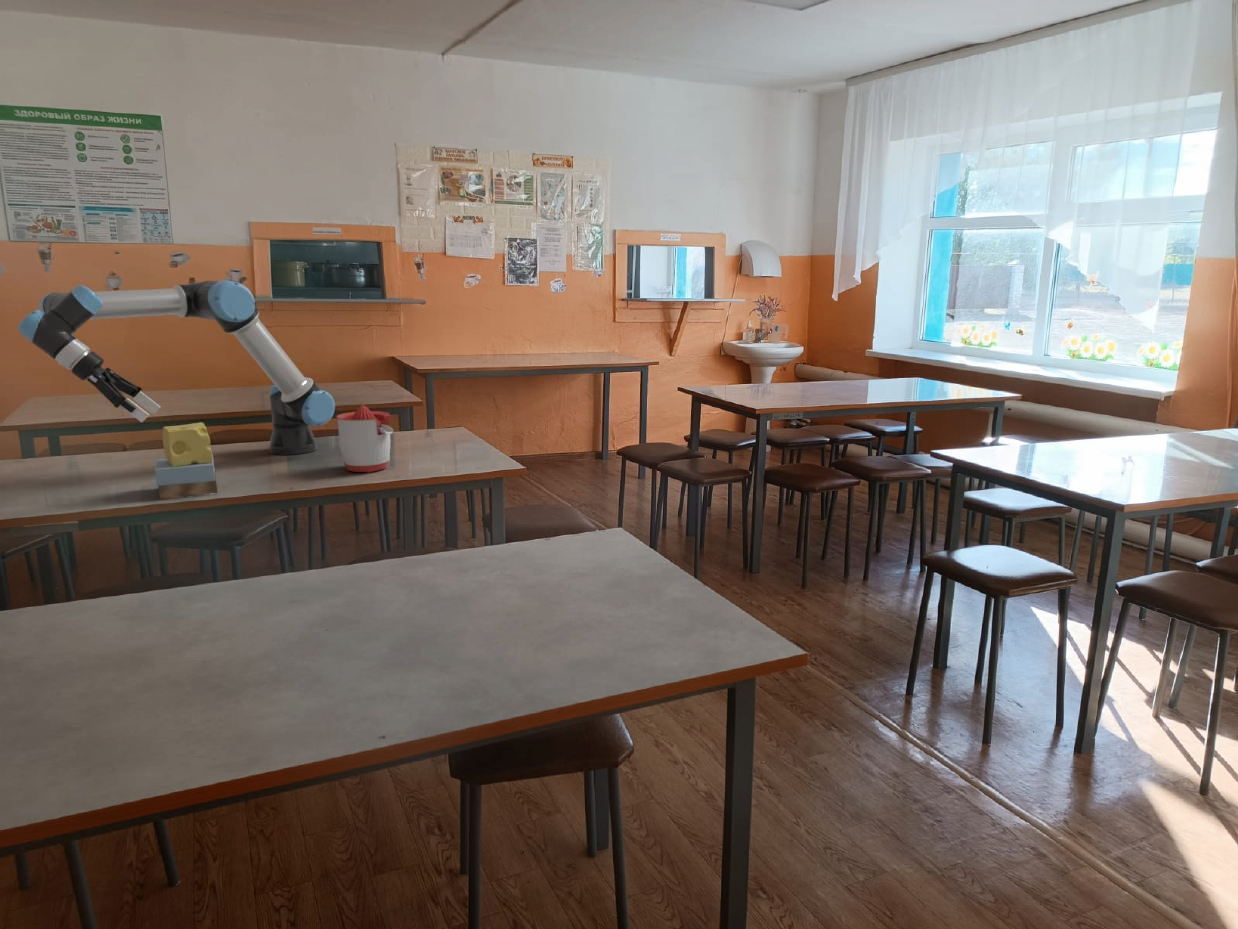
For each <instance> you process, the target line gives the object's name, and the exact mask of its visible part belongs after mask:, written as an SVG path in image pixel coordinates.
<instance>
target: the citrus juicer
mask: <svg viewBox="0 0 1238 929" xmlns="http://www.w3.org/2000/svg"><path fill="white" fill-rule="evenodd" d="M336 419H337V427H338V430H337V431H338V444H339V450H340V453H341V454H340V455H341V458H342V460H343V464H344V465H345V468H346V470H347V471H349V472H353V473H355V472H356V473H368V474H369V473H373V472H376V471H381V470H383V469H386V468H387V466H388V463H389V458H390V454H391V453H390V452H391V435H392V434H393V433H394V430H393V428H392V427H391V426H390V413H389V412H385V411H376V410H373V411H372V410H370V409H369V408H368V407H367V406H365V405H364V404H362V405H360V406H359V407H358V408H357V409H356V410H355V411H351V412H345V413H341V414H337V415H336Z"/></svg>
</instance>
